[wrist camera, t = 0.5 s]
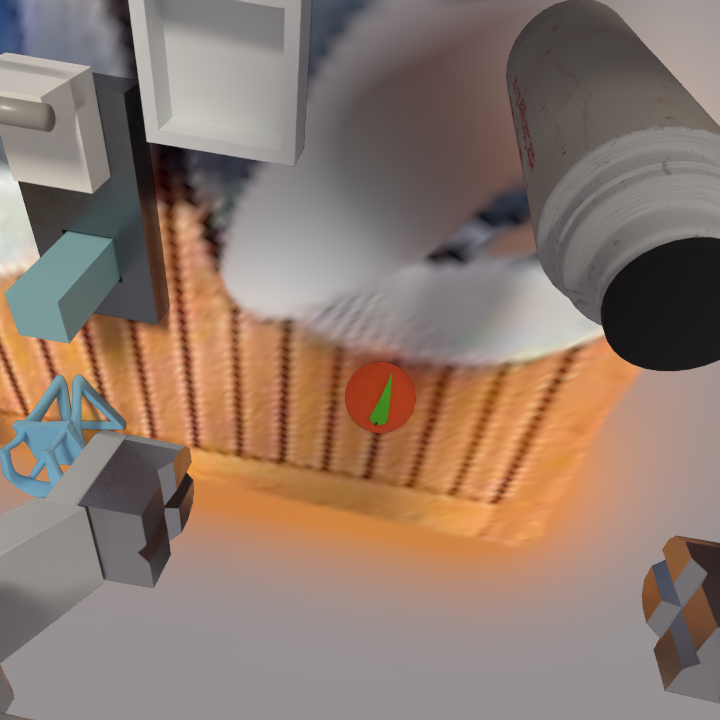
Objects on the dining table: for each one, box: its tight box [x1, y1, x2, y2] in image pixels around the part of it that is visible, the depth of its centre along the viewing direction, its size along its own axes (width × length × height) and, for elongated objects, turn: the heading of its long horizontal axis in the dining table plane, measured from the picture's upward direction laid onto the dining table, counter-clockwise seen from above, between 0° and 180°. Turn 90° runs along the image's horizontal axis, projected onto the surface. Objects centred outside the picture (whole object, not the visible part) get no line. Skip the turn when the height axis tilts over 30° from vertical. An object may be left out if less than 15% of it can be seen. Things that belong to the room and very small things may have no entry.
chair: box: [0, 375, 126, 498], centre depth 64 cm, size 8×8×12 cm
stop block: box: [5, 230, 122, 343], centre depth 49 cm, size 4×4×12 cm
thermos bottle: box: [506, 0, 720, 371], centre depth 29 cm, size 8×8×28 cm
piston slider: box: [0, 53, 111, 194], centre depth 40 cm, size 8×7×8 cm
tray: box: [128, 0, 312, 166], centre depth 40 cm, size 11×11×4 cm
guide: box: [18, 73, 170, 324], centre depth 50 cm, size 21×10×3 cm, turn 173°
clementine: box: [345, 362, 416, 433], centre depth 57 cm, size 8×7×7 cm
